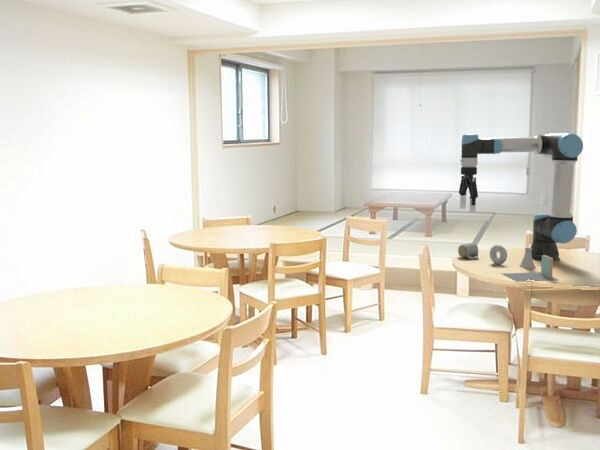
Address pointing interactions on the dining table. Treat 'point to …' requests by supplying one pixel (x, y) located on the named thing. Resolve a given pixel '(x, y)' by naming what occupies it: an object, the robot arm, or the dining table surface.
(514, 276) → the mat
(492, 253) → the donut
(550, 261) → the tile
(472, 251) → the ceramic mug
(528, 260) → the flask
